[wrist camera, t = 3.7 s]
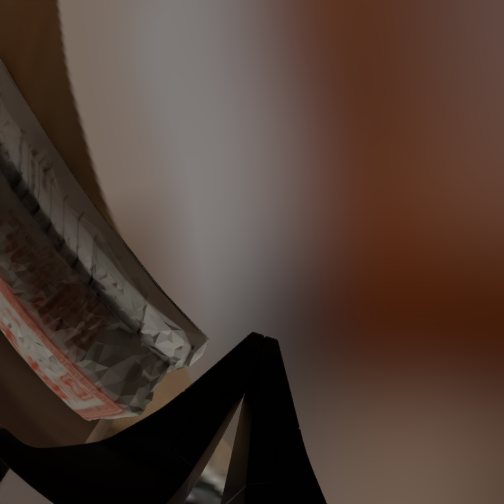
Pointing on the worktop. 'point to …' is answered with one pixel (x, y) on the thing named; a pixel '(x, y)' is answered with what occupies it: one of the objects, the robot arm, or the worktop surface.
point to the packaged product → (77, 283)
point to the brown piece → (39, 407)
